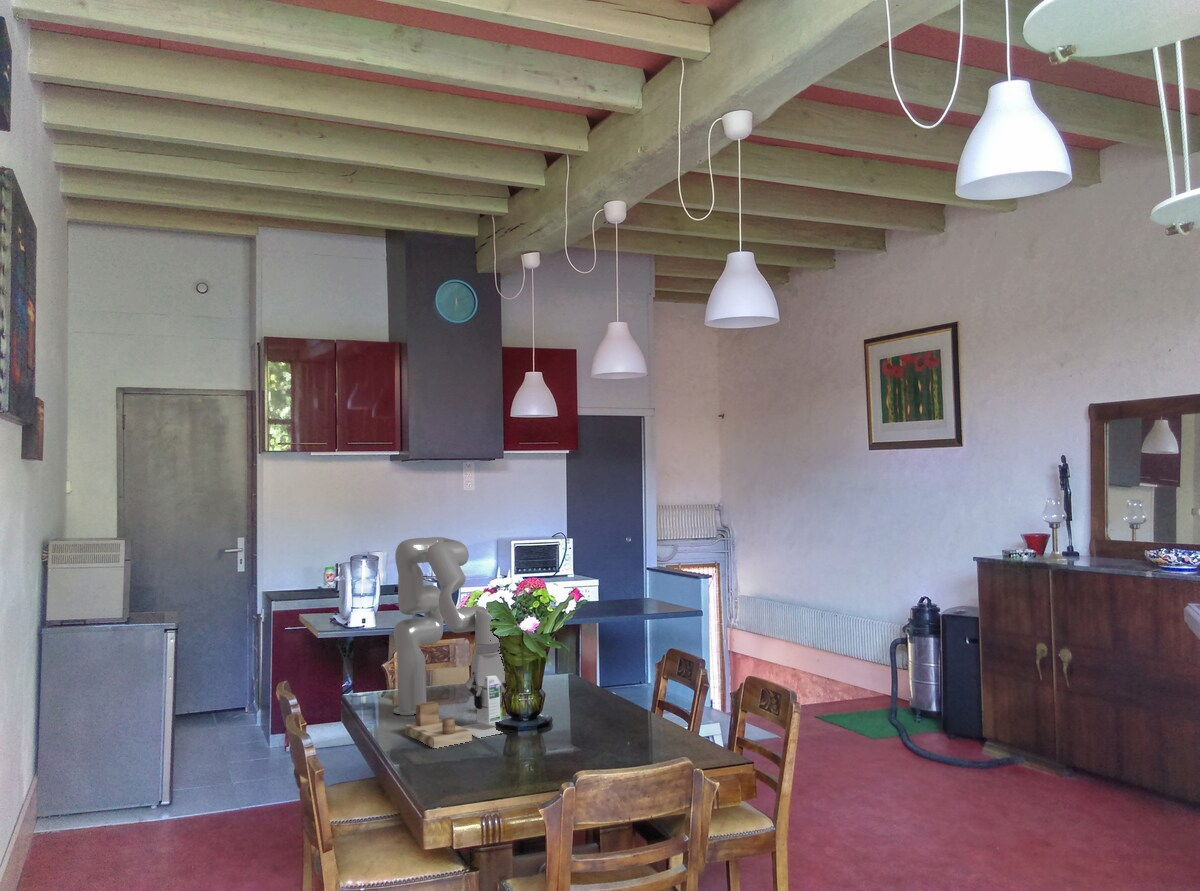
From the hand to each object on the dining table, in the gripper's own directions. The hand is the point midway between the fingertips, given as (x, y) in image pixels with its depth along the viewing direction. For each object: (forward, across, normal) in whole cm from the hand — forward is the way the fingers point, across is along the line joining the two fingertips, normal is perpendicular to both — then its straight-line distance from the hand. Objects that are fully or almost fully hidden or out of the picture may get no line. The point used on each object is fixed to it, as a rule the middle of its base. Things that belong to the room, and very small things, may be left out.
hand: (489, 706), depth 293 cm
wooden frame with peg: (+7, +17, -1) cm, 18 cm away
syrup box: (+5, 0, 0) cm, 5 cm away
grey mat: (+7, 0, 0) cm, 7 cm away
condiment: (+8, -11, -17) cm, 22 cm away
